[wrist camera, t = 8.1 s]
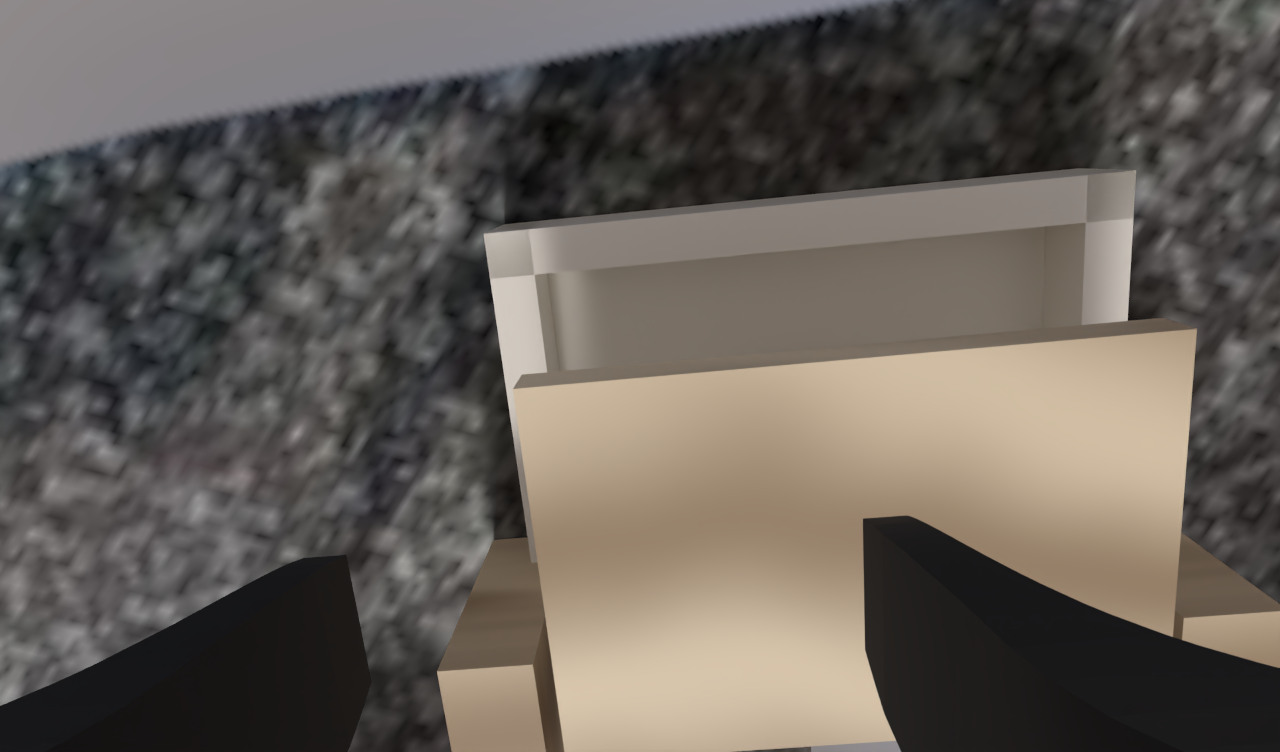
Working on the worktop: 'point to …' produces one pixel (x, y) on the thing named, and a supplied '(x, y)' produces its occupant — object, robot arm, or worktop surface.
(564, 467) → the trapdoor
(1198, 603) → the trapdoor posts
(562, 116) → the worktop surface
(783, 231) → the tray
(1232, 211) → the worktop surface
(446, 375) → the worktop surface
